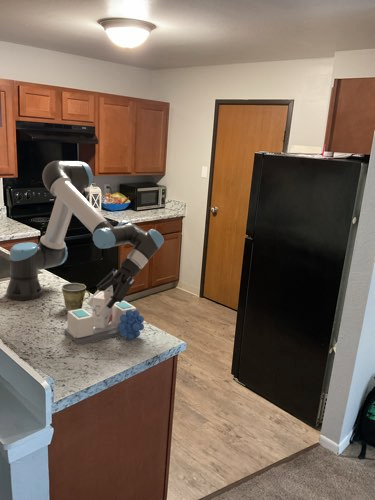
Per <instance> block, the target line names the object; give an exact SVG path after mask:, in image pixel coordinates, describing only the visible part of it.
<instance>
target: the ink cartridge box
mask: <svg viewBox="0 0 375 500" xmlns="http://www.w3.org/2000/svg"><path fill="white" fill-rule="evenodd" d="M113 294H114V285H111V286H110V287H109V288H107V289H106V290H105V291H101V292H99V293H98V294H97V295H95V296H94V297H93V307H92V316H94V327H98V328H105V327H106V326H107V325H108V324H109V323H110V322H111V321H112V313H113V306H112V307H111V308H110V309H109V310H108V312H107V313H106V314H105V315H104V316H103V315H102V314H101V313H99V312H98V311H99V310H100V309H101V307H102V306H103V305H104V304H105V303H106V302H107V300H108V299H109V298H111V296H113ZM111 299H112V298H111Z"/></svg>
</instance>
